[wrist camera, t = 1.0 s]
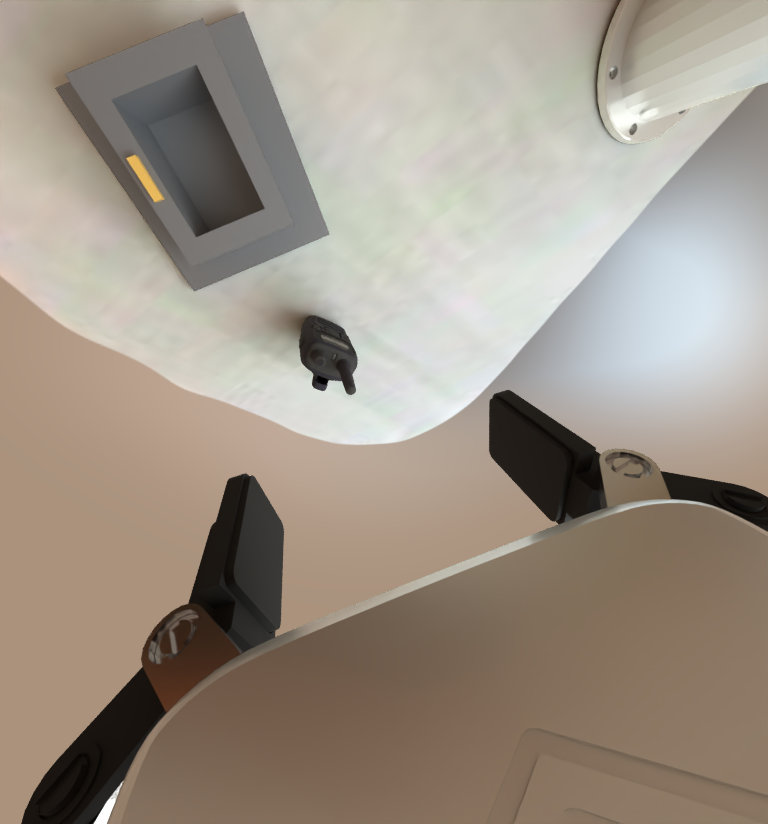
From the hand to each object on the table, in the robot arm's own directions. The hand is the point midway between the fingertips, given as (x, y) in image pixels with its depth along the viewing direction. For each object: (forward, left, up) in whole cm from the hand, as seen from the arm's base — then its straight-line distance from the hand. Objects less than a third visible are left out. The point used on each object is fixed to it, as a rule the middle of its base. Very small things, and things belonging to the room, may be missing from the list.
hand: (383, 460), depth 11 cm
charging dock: (+4, -14, -26) cm, 29 cm away
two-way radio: (+2, +2, -26) cm, 26 cm away
